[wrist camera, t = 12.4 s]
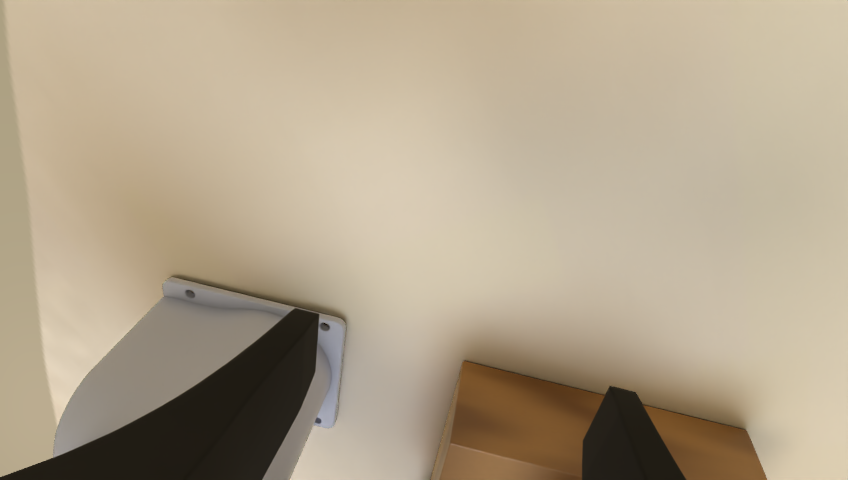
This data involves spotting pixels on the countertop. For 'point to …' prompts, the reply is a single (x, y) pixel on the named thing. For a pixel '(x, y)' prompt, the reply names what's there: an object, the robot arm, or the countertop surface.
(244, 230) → the countertop surface
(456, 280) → the countertop surface
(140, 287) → the countertop surface
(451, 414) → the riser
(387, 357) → the countertop surface
